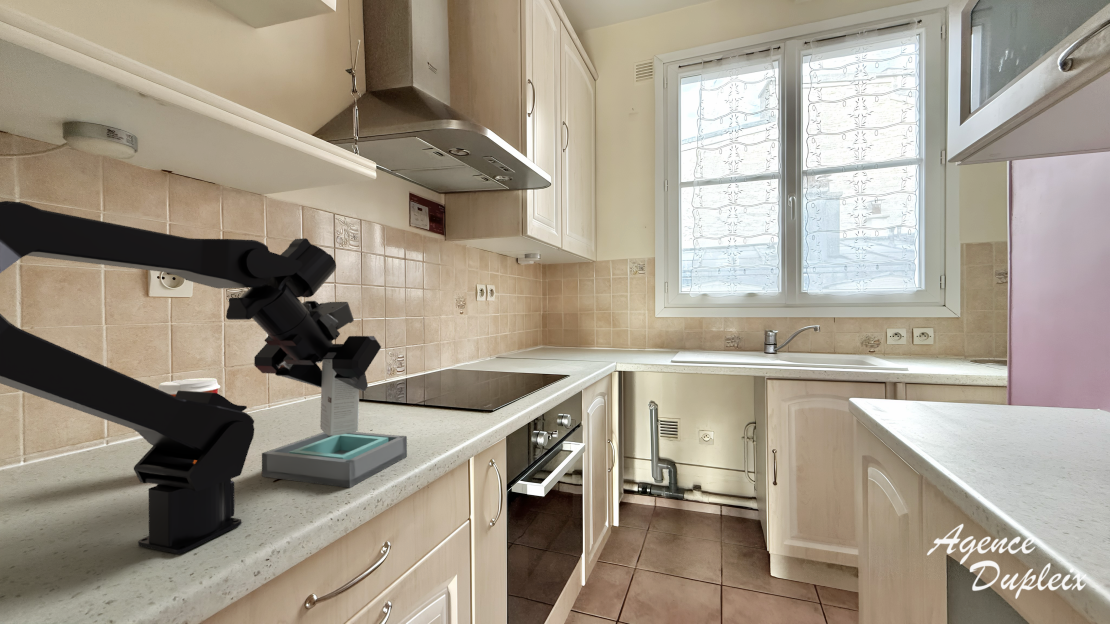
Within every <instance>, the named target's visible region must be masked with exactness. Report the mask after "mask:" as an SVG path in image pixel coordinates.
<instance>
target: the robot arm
mask: <svg viewBox="0 0 1110 624" xmlns="http://www.w3.org/2000/svg"><path fill="white" fill-rule="evenodd" d="M27 256H28V257H36V258H44V259H51V260H52V259H54V260H60V261H68V262H77V263H84V264H85V263H86V264H95V265H101V266H103V265H104V266H111V267H118V268H119V267H120V268H127V269H137V270H145V271H153V272H162V273H166V274H171V275H173V276H178V277H180V278H182V279H184V280H186V281H188V282H191V283H195V284H199V285H203V286H207V287H210V288H214V289H248V290H246V291H245V292H244V293H243V294H242V295H241V296H240V297H229V298H228V307H227V310H226V315H225V318H226V319H227V320H228V321H229V320H230V321H231V320H235V321H237V320H238V321H239V320H240V321H244V320H246V321H247V320H251V319H252V320H253V321H254V322H256V324H257V325H258V326H259V327H260V328H261V329H262V331H264V332H265V334H267V337H266V338H265V339H264V340H263V341H264V342H265V344H264V345H263V347H262V348H261V349H260V350H259V351H258V352H257V354H256V355H255V356H254V359H253V361H254V362H253V365H254V367H255V368H257V369H258V371H260V373H261V374H272V375H273V374H275V376H277V377H282V378H285V379H290V380H293V381H296V382H301V383H303V384H307V385H310V386H313V387H317V388H320V389H321V385H322V368H321V367H320V365H318V364H320V363H321V364H322V360H323V359H330V360H332V369H333V370H334V371H335V372H336V373H337V374H336V375H335V377H334V378H336V379H338V380H340V381H342V382H344V383H346V384H348V385H350V386H352V387H354V388H357V389H359V391H361V392H365V391H366V390H367V389H368V387H369V386H368V379H367V376H366V372H367V371H368V369H369V367H370V366H371V364H372V363H373V361H374V359H375V358H376V356H377V354H378V353H379V352H380V350H381V348H382V346H381V344H380V343H379V341H378V340H377V338H376V337H375V336H374V335H349V336H347V338H346V339H345V341H344V342H343V343H333V341H334V340H335V341H336V340H337V339H338V338H339V337H340V335H341V333H340V332H339V329H341V328H343V327H345V326H346V325H348V324H351V323H354V321H355V320H354V315H353V313H352V310H351V307H350V305H349V302H348V301H328V302H321V303H319V302H318V301H316V300H305V301H304V302H302V301H301V300H300V299H299V298H310V297H312V296H314V295H315V294H316V293H317V291H319V290H320V288H321V287H323V285H324V284H325V283H326V281H327V280H328V279H329V278H330V277H331V275H333V274H334V272H335V271H336V269H337V263H336V261H335V258H334V257H333V256H332V254H329V253H328V252H326V251H325V250H324V249H323V248H321V247H319V246H317V245H314V244H312V243H311V242H310V240H309V239H308V238H307V237H305V238H304V237H303V238H295V239H293V240H292V242H291V243H289V245H288V247H287V248H286V249H285V250H283V252H282V253H281V254H278V253H276V252H272V251H270V250H269V247H268V245H266V244H265V243H263V242H261V241H259V240H255V239H239V238H238V239H237V238H195V237H194V238H191V237H184V236H178V235H173V234H168V233H163V232H160V231H159V232H157V231H153V230H148V229H143V228H137V227H134V226H128V225H122V224H117V223H112V222H107V221H103V220H96V219H93V218H86V217H81V216H78V215H77V216H76V215H71V214H66V213H61V212H57V211H56V212H55V211H50V210H47V209H46V210H45V209H41V208H39V207H35V206H32V205H30V204H27V203H25V202H20V201H9V200H4V201H3V200H2V201H0V274H1V273H2V272H4V271H6V270H7V269H8V268H9V267H11V266H12V265H13V264H15V263H17V262H18V261H19V260H20V259H23V258H24V257H27ZM0 384H1V385H4V386H7V387H9V388H12V389H16V390H18V391H21V392H24V393H27V394H31V395H33V396H36V397H39V398H40V399H41V398H42V399H45V400H48V401H50V402H53V403H56V404H59V405H62V406H65V407H67V408H71V409H73V410H76V411H80V412H83V413H85V414H87V415H92V416H93V417H97V418H100V419H102V420H105V421H109V422H112V423H113V424H114V423H115V424H117V425H120V426H124V427H125V428H129V429H132V430H133V431H135V432H137V433H138V434H139V435H140V436H141V437H142V438H143V439H144V440H145V441H146V442H147V443H148V444H150V446H151V445H152V447H151V448H150V449H149V450H147V452H146V453H145V454H144V455H143V456H142V457H141V458H140V460H139V461H138V462H137V463H136V464H135V465H134V466H133V471H134V473H135V474H136V478H138V480H139V482H140V483H141V484H155V485H154V486H153V487H149V488H147V489H148V536H145V537H142V538H141V539H139V540H137V546H139V547H143V548H146V549H152V550H156V551H162V552H166V553H171V554H176V555H180V554H184V553H186V552H188V551H190V550H192V549H194V548H196V547H198V546H200V545H202V544H204V543H206V542H209V541H210V540H213V539H214V538H216V537H219V536H220V535H223V534H225V533H227V532H229V531H231V530H233V529H235V528H237V527H239V526H241V525H242V519H240V518H237V517H235V518H234V516H235V511H236V510H235V481H233V480H232V479H234V478H237V477H239V476H241V474H242V473H243V469H244V466H245V462H246V460H247V457H248V454H249V450H250V447H251V444H252V442H253V439H254V434H255V426H254V424H255V420H254V419H253V418H254V417H252V415H250V414H248V413H247V412H244V411H245V410H246V409H247V408H248V407H247V405H238V404H234V403H233V402H232V401H230V400H229V399H227V397H224V395H221V394H219V393H218V394H217V393H213V392H197V391H180V390H179V391H178V392H177V394H176V396H172V395H170V394H168V393H165V392H163V391H161V390H159V389H158V388H157V387H154V386H152V385H149V384H147V383H144V382H142V381H141V380H138V379H136V378H133V377H131V376H129V375H126V374H124V373H123V372H119V371H117V370H116V369H113V368H110V367H108V366H106V365H104V364H101V363H100V362H97V361H94V360H93V359H90V358H88V357H85V356H83V355H81V354H78V353H76V352H75V351H71V350H70V349H67V348H66V347H62V346H60V345H58V344H56V343H53V342H51V341H48V340H46V339H44V338H42V337H40V336H37V335H35V334H33V333H30V332H28V331H26V330H23V329H22V328H19V327H18V326H16V325H15V324H13V323H12V322H10V321H9V320H8V319H7V318H6V317H4V315H2V314H1V313H0ZM194 460H197V462H196V463H195V464H194V463H193V462H194Z"/></svg>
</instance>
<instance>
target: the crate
mask: <svg viewBox="0 0 1110 624" xmlns="http://www.w3.org/2000/svg"><path fill="white" fill-rule="evenodd" d="M407 440H408V439H407V436H406V435H397V434H396V435H395V434H385V433H375V432H374V433H373V432H362V431H361V432H359V431H356V432H352V433H347V434H341V435H334V436H329V435H327V434H326V433H325V432H323V431H321V432H320V433H316V434H313V435H311V436H308V437H305V438H302V439H299V440H296V441H292V442H290V443H287V444H285V445H282V446H278V447H276V448H273V449H270V450H267V451H263V452H261V477H264V478H272V479H277V480H278V479H279V480H287V481H293V482H294V481H295V482H296V481H297V482H302V483H310V484H316V485H317V484H318V485H324V486H325V485H326V486H331V487H333V486H334V487H340V488H341V487H342V488H349V489H350V488H352V487H354V486H356V485H357V484H359V483H361V482H364V481H365V480H366V479H368V478H370V477H372V476H375V475H376V474H378V473H380V472H381V471H383V470H385V469H387V468H389V467H391V466H392V465H395V464H397V463H398V462H400V461H402V460H404V459H406V458H407V457H408V441H407Z"/></svg>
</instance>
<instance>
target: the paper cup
mask: <svg viewBox="0 0 1110 624" xmlns="http://www.w3.org/2000/svg"><path fill="white" fill-rule="evenodd" d="M220 388H221V385H220V384H218V380H217V378H215V377H214V378H213V377H212V378H211V377H203V378H202V377H201V378H198V377H197V378H196V377H195V378H186V379H177V380H171V381H164V382H161V383H159V385H158V388H157V389H159V390H161V391H163V392H165V393H168V394H170V395H172V396H176V394H177V392H178V391H179V390H180V391H197V392H213V393H217V394H219V393H218V391H219V389H220ZM196 462H197V460H194V462H193V463H194V464H195V463H196Z"/></svg>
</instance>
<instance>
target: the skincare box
mask: <svg viewBox="0 0 1110 624" xmlns="http://www.w3.org/2000/svg"><path fill="white" fill-rule="evenodd" d="M321 370H322V385H321V388H320V389H321V393H320V396H321V397H320V398H321V399H320V420H319V422H320V423H319V426H320V430H321V432H325V433H326V434H327V435H329V436H334V435H341V434H347V433H352V432H359V413H360V412H359V411H360V409H359V407H360V406H359V405H360V390H359V389H357V388H354V387H352V386H350V385H348V384H346V383H344V382H342V381H340V380H338V379H336V378H334V377H335V375H336V374H337V373H336V372H335V371H334V370H333V369H332V360H330V359H323V360H322V362H321Z"/></svg>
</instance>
